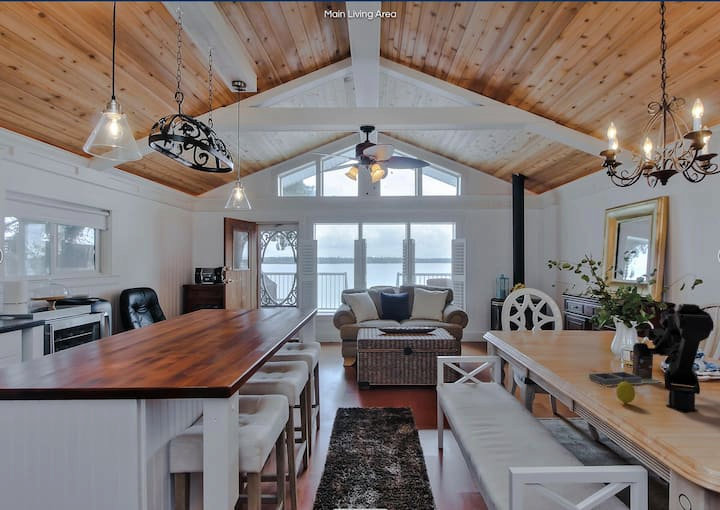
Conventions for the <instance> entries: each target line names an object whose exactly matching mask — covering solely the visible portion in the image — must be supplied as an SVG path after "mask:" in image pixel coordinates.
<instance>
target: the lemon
mask: <svg viewBox="0 0 720 510" xmlns="http://www.w3.org/2000/svg"><path fill="white" fill-rule="evenodd" d="M635 391H636V390H635V388H634V385H631V384H630V383H628V382H627V381H624V382H621V383H619V384H618V386H616V390H615V392H616V397H617V398H618V400H620V401H621V402H622V403H623V404H625V405H627V404H629V403H631V402H633V401H634V400H635V397H636V392H635Z"/></svg>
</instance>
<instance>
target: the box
mask: <svg viewBox="0 0 720 510" xmlns="http://www.w3.org/2000/svg"><path fill="white" fill-rule="evenodd" d="M632 349H633V350H632V373H631V374H633V375H636V376H639V377H642V378H648V379H652V378H653V366H654V365H653V364H654V363H653V362H654V355H651V358H649V359H650V360H648V361H646V362H645V363H643V364H641V362H640V359H639V358H638V357H637V354H636V352H635V350H634V348H633V347H632Z"/></svg>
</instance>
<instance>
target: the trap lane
mask: <svg viewBox="0 0 720 510" xmlns="http://www.w3.org/2000/svg"><path fill="white" fill-rule="evenodd" d="M588 375H589V378H588V380H589V381H593V382H594V381H595V383H597V382H598V383H597V384H600V383H601V384H600V385H602V384H604V385H603V386H605V385H607V386H606V387H610V386H609V385H618V384H619V383H621V382H624V381H627V382H628V383H630V384H635V385H643V383H649V384H660V383H659V382H663V381H662V380H660V379H658V378H654V377H652V379H648V378H642V377H639V376H636V375H633V374H632V373H628V372H626V371H616V372H600V373H599V372H598V373H589V374H588Z"/></svg>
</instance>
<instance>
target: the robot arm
mask: <svg viewBox="0 0 720 510" xmlns="http://www.w3.org/2000/svg"><path fill="white" fill-rule="evenodd" d="M660 317H661V318H660V319H659V324H660V325H661V326H662V328H663V329H662V328H646V329H645V331H644V336H645V337H646V339H650V340H652V341H651V343H652V345H653V346H654V347H649V346H648V344H647V343H646V342H635V343H634V344H633V346H632V349H633V348H634V350H635V352H636V354H637V357H638V358H639V359H640V362H641V364H643V363H645V362H646V361H648V360H650V359H649V358H651V355H653V356H658V355H659V356H660V357H666V358H665V360H664V364H665V365H668V367H667V369H665V372H664V373H663V377H664V378H663V380H664V389H665V390H668V393H669V394H668V404H665V406H666V407H667V408H670V409H672V410H675V411H678V412H681V413H685V414H686V413H696V412H699V411H700V410H699V409H698V408H696V395H700V393H701V388H700V382H699V377H698V373H697V372H696V369H695V361H696V358H697V355H698V354H697V353H698V351H699V348H700V343H701V342H703V341H705V340H706V339H708V338H709V337H710V334H711V333H712V332H713V331H714V323H715V322H714V320H713V317H712V316H711V315H710V313H708V312H707V311H705V310H703V308H702V309H701V308H700V306H699V305H697V304H696V303H695V304H693V303H681V304H678V308H677V310H675V308H667V309H666V310H664V311H662V312H661V313H660Z"/></svg>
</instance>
